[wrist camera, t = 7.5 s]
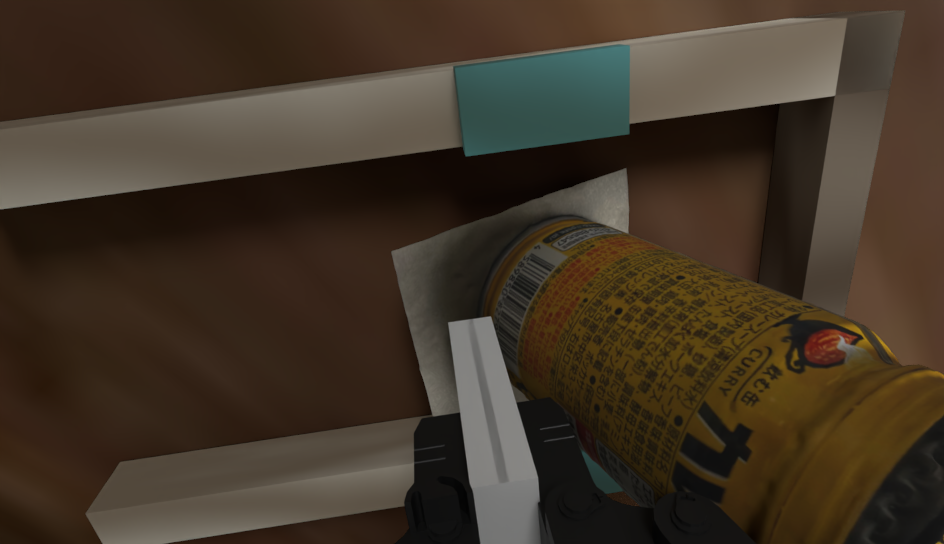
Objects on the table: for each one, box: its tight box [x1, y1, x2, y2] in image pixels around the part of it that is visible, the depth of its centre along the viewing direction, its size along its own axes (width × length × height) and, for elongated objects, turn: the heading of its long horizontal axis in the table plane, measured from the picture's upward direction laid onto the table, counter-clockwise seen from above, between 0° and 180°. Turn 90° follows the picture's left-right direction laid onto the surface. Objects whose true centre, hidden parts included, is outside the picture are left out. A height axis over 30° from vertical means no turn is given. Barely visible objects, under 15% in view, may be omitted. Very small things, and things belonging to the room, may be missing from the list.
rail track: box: [0, 11, 905, 544], centre depth 18 cm, size 15×27×3 cm, turn 97°
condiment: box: [391, 168, 944, 544], centre depth 13 cm, size 7×8×12 cm
